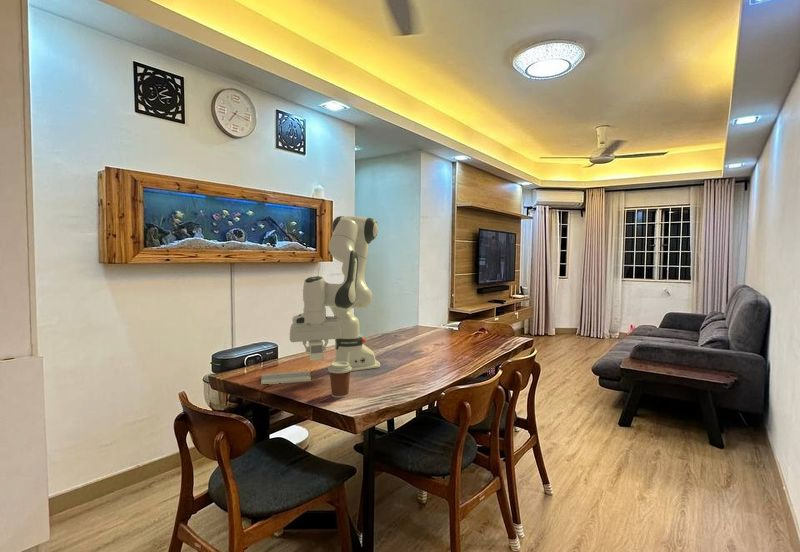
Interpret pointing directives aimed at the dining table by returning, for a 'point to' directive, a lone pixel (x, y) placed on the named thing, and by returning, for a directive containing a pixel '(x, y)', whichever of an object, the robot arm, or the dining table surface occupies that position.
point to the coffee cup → (340, 378)
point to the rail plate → (285, 377)
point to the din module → (316, 350)
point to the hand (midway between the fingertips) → (315, 351)
